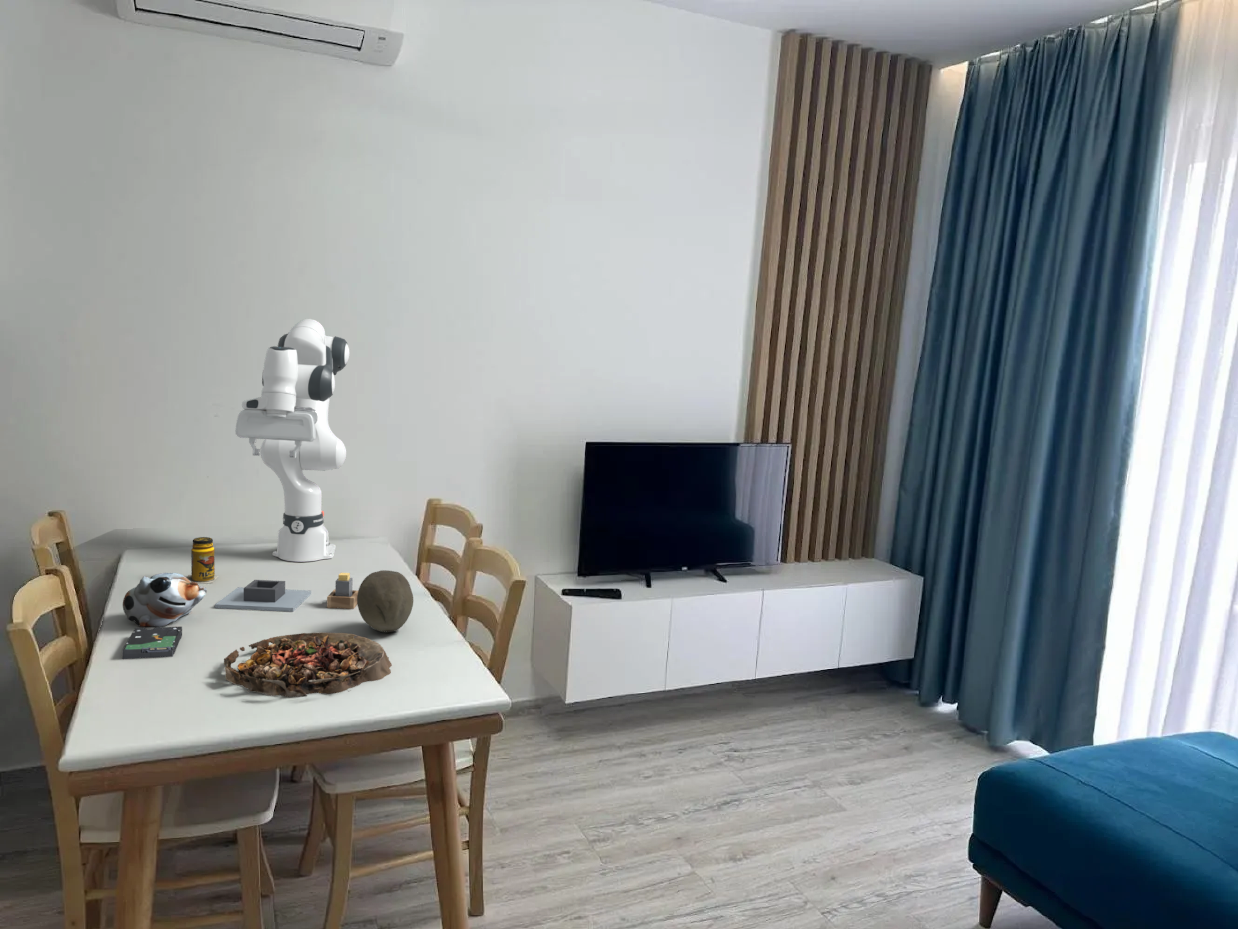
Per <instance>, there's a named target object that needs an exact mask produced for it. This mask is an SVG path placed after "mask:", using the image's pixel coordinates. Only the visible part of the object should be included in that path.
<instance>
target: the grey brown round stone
mask: <svg viewBox="0 0 1238 929" xmlns="http://www.w3.org/2000/svg"><path fill="white" fill-rule="evenodd" d="M413 606H414V595H413V591H412V588H411V585H410V582H409V581H408V579H407V577H406V576H405V575H403V573H401V572H398V571H394V570H383V569H382V570H379V571H374V572H371V573H369V574H368V575H367V576H365V578H363V580H362V582H361V583H360V585H359V588H358V595H357V608H358V612H359V614H360V617H361V619H363V621H364V623H365V624H367V625H368V626H369V627H371V628H372V629H374V630H375V631H376V632H382V633H393V632H396V631H398V630H399V629H401V628H402V627H403V626H404V625H405V624H406V623H407V621H408V620H409V617H410V616H411V613H412V611H413Z"/></svg>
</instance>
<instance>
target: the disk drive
mask: <svg viewBox="0 0 1238 929" xmlns="http://www.w3.org/2000/svg"><path fill="white" fill-rule="evenodd" d="M182 637H183V626H161V627H153V628H151V629H149V628H147V627H135V628H134V629H133V630H132V633H131V634H130V636H129V638H128V639H127V641H126V643H125V644H124V645H123V648H122V651H121V653H122V655H121V656H122V660H133V659H136V660H137V659H152V658H153V659H154V658H155V659H156V658H158V659H159V658H172V657H174V655H175V653H176V651H177V648H178V646H179V644H180V641H181V639H182Z"/></svg>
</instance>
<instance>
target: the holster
mask: <svg viewBox="0 0 1238 929" xmlns="http://www.w3.org/2000/svg"><path fill="white" fill-rule="evenodd" d="M358 590H359V589H358ZM358 590H357V589H356V590H353V589H352V596H351V597H344V596H335V588H334V589H333V590H332V591H331V592H330V593H329V594H328V596H326V608H327V609H346V610H354V609H355V608H356V607H358V605H357V595H358Z"/></svg>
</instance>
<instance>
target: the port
mask: <svg viewBox="0 0 1238 929" xmlns="http://www.w3.org/2000/svg"><path fill="white" fill-rule="evenodd" d="M311 595H312V590H308V589H307V590H306V589H288V588H287V589H286V581H285V580H269V579H268V580H267V579H266V580H265V579H254V580H253V581H251V582H250V583H248V584H247V585H246V586H243V587H242V586H237V588H235V589H233V590H232V591H231V592H230V593H228V594H226V596H224V597H222V598H221V599H220V600H218V602H217V603H215V604H214V608H215V609H224V610H225V609H229V610H246V611H247V610H250V611H251V610H252V611H270V612H271V611H273V612H289V613H291V612H294V611H295V610H296V609H297V608H299V606H300V605H301V604H302V603H304V602H305V601H306V600H307V599H308V598H309V597H310V596H311Z"/></svg>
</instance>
